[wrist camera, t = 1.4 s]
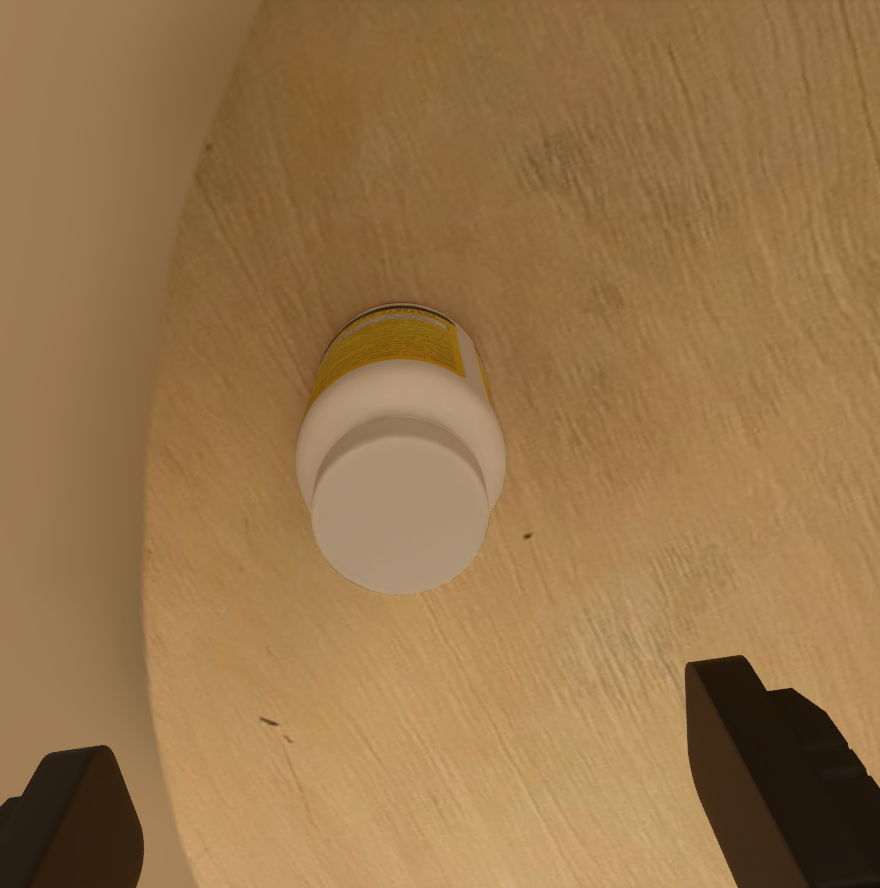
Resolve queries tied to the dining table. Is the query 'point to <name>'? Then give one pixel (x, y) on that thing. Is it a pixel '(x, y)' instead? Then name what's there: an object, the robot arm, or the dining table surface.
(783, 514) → the dining table surface
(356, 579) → the supplement bottle
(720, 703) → the robot arm
